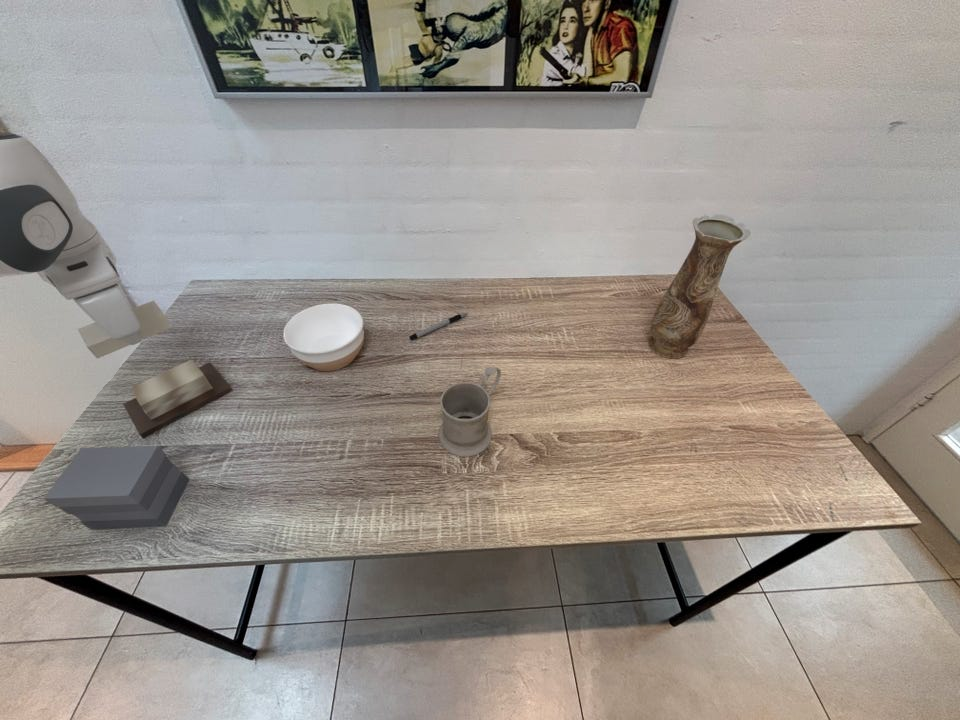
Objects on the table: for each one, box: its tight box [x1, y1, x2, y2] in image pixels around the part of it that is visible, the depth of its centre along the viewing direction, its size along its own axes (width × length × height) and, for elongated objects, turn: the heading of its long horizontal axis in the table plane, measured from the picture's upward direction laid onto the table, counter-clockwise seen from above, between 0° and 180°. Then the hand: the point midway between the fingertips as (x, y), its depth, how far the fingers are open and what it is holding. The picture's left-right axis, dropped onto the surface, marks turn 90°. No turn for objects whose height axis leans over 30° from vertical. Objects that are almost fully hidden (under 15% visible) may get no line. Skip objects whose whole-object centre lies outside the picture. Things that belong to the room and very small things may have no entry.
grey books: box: [43, 445, 190, 531], centre depth 62 cm, size 11×8×10 cm
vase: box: [647, 214, 751, 360], centre depth 85 cm, size 10×11×30 cm
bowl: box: [282, 302, 365, 372], centre depth 88 cm, size 16×16×8 cm
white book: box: [77, 300, 174, 359], centre depth 67 cm, size 11×6×2 cm, turn 136°
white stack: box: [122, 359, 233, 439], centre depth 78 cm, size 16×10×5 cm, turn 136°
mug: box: [438, 366, 502, 458], centre depth 73 cm, size 14×10×12 cm
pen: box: [409, 312, 468, 341], centre depth 97 cm, size 1×16×1 cm, turn 127°
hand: (129, 330), depth 68 cm, fingers closed on white book, 6 cm apart
